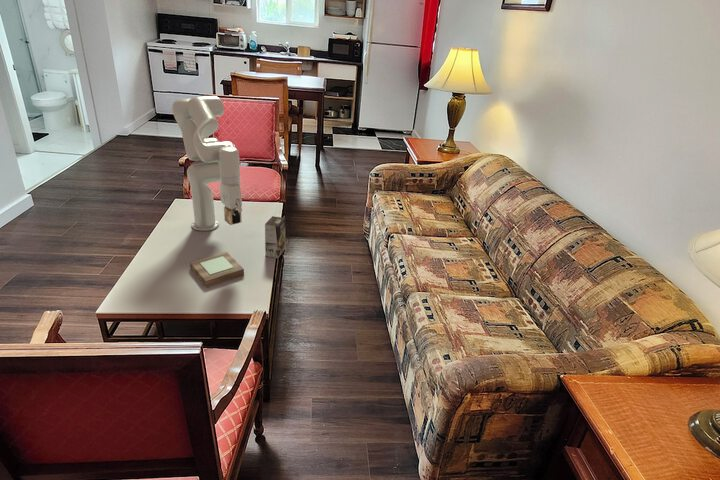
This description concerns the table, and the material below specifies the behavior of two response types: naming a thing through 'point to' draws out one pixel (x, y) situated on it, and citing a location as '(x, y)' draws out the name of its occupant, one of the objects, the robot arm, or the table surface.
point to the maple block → (230, 215)
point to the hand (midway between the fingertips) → (233, 219)
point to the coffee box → (275, 237)
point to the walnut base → (216, 269)
